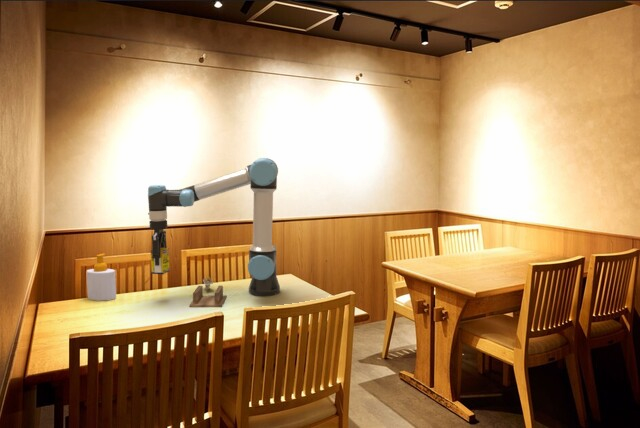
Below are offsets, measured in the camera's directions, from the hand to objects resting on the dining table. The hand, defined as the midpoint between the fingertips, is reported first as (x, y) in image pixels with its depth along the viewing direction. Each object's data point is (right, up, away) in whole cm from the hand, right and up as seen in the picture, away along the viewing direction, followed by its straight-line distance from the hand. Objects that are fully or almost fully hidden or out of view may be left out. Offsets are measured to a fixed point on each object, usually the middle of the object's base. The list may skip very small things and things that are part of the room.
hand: (160, 270), depth 212 cm
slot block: (+22, -14, 0) cm, 26 cm away
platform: (+17, -13, +19) cm, 28 cm away
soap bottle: (-29, -14, +4) cm, 32 cm away
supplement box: (0, -1, 0) cm, 1 cm away
